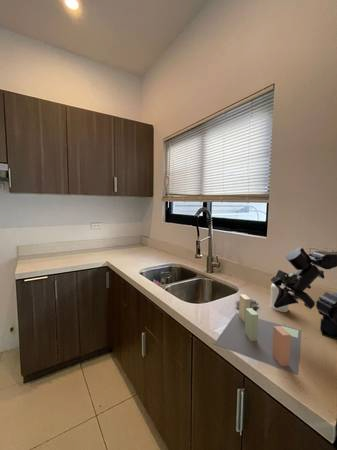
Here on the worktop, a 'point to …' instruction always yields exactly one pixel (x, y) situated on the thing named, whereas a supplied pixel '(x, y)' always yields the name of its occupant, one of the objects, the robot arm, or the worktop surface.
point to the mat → (259, 342)
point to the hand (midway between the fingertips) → (274, 306)
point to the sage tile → (251, 324)
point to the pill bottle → (274, 296)
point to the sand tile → (243, 306)
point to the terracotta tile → (281, 345)
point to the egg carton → (252, 304)
